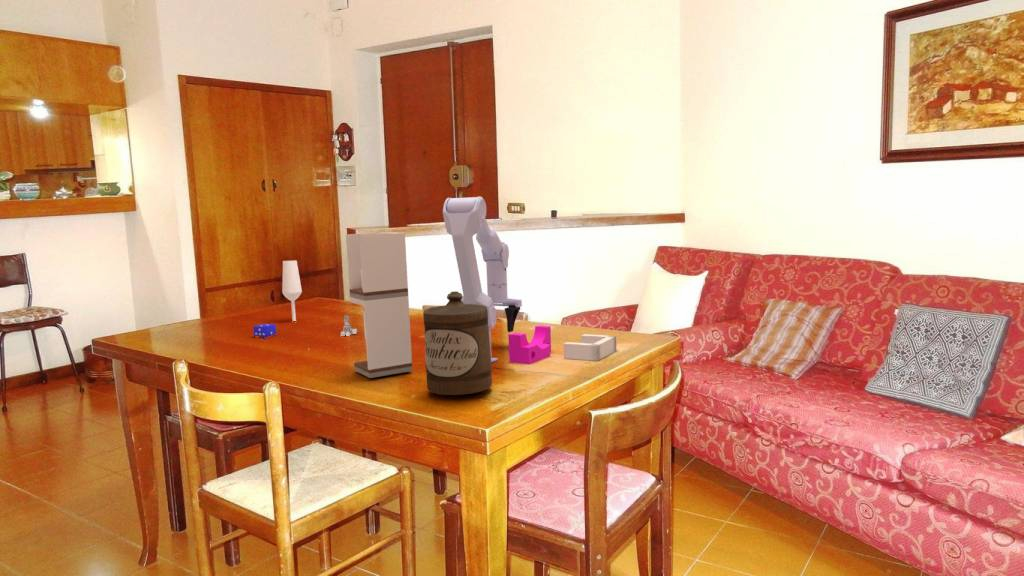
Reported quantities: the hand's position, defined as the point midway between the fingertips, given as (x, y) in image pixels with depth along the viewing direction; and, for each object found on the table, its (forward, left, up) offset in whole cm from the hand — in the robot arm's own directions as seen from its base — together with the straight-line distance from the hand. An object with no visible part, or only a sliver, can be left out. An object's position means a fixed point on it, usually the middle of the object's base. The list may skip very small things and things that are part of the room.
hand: (498, 330), depth 203 cm
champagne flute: (+8, +89, -5) cm, 89 cm away
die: (-14, +80, -5) cm, 81 cm away
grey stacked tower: (-35, +14, -5) cm, 38 cm away
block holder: (0, -28, -5) cm, 29 cm away
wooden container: (-42, -13, -5) cm, 44 cm away
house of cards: (-2, +53, -6) cm, 53 cm away
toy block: (-8, -15, -5) cm, 18 cm away
